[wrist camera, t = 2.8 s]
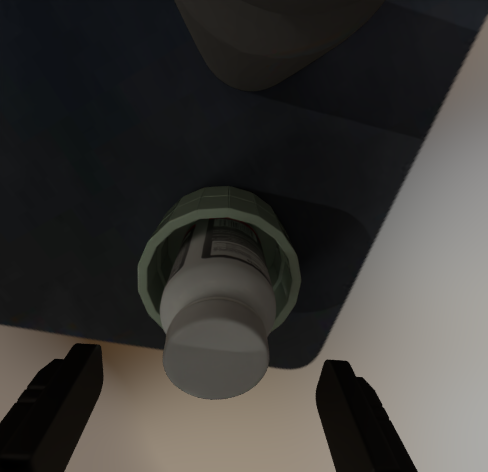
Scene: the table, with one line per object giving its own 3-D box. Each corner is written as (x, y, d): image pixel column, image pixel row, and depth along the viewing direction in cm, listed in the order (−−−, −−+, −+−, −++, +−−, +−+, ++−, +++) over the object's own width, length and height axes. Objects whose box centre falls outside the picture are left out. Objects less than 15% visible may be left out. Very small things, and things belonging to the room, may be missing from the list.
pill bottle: (210, 295, 21) (195, 430, 12) (165, 237, 19) (108, 346, 10) (275, 260, 20) (312, 378, 11) (235, 195, 18) (241, 275, 9)
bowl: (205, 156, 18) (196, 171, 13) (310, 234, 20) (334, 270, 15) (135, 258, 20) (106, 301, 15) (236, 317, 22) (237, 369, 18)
